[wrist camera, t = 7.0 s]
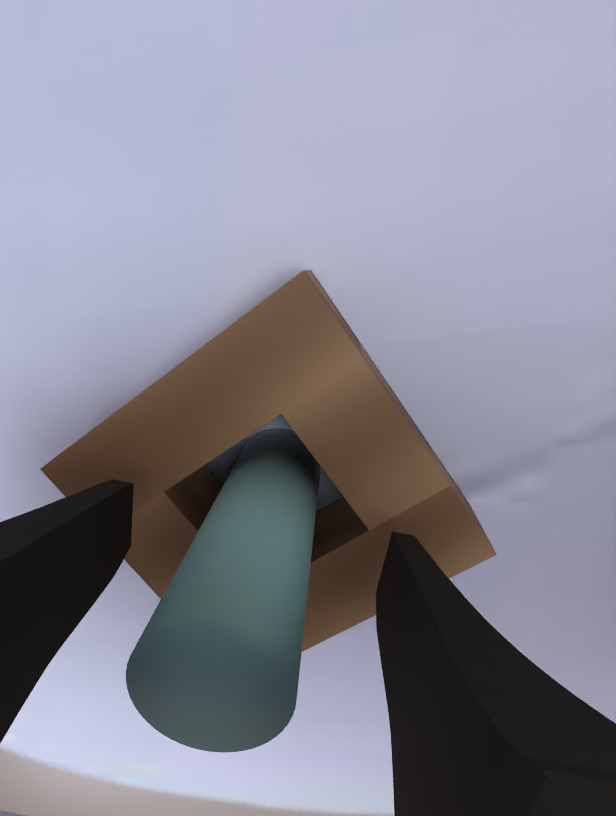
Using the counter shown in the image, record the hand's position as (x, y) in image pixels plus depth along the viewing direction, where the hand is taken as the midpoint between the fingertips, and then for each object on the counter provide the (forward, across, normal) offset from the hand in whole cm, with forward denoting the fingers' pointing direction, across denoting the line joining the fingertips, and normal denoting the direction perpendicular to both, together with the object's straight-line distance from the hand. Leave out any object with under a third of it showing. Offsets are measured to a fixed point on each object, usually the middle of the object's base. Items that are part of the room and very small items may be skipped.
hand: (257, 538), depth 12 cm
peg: (+4, 0, 0) cm, 4 cm away
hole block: (+4, 0, 0) cm, 4 cm away
